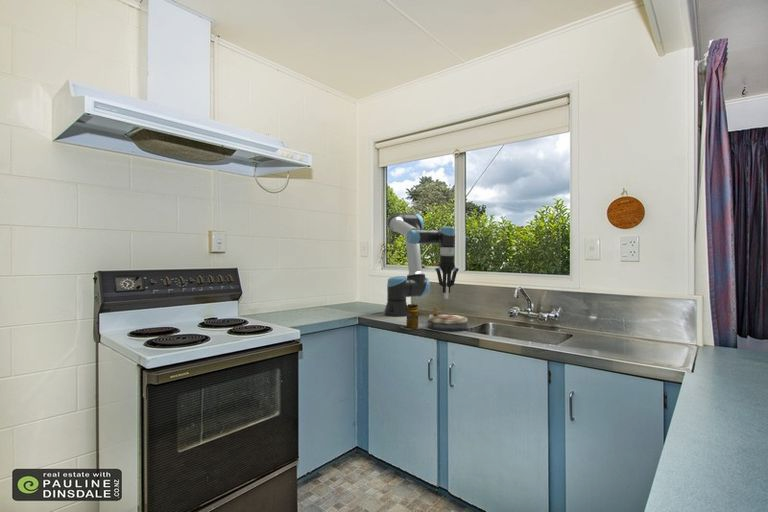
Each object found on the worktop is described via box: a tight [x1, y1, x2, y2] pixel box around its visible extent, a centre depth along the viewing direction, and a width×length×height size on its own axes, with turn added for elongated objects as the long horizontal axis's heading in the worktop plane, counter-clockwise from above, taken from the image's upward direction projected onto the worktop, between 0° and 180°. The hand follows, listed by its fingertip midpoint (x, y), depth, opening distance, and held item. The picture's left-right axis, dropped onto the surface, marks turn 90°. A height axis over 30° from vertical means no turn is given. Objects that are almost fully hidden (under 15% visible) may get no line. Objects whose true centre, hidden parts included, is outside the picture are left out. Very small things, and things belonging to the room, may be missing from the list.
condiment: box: [400, 303, 421, 331], centre depth 203 cm, size 7×8×12 cm
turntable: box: [428, 305, 469, 324], centre depth 205 cm, size 20×20×6 cm
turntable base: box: [427, 314, 469, 332], centre depth 205 cm, size 21×21×5 cm
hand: (446, 298), depth 214 cm, fingers closed
